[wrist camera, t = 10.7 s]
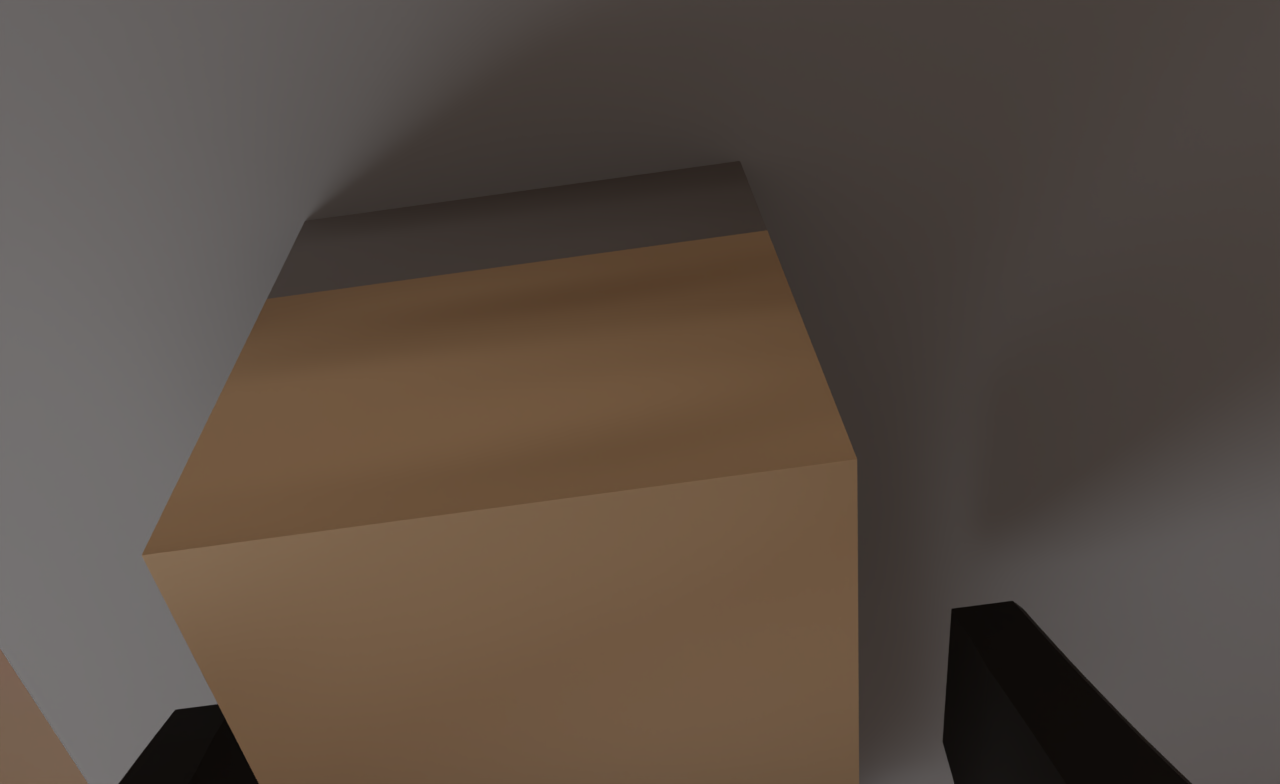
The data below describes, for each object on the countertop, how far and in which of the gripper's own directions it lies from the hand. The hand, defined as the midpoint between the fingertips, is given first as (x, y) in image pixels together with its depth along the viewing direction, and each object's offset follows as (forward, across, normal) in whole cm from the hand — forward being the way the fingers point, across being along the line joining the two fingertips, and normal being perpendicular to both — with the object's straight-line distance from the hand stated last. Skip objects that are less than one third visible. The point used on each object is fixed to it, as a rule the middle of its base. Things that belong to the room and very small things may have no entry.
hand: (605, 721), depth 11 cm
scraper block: (+2, 0, 0) cm, 2 cm away
